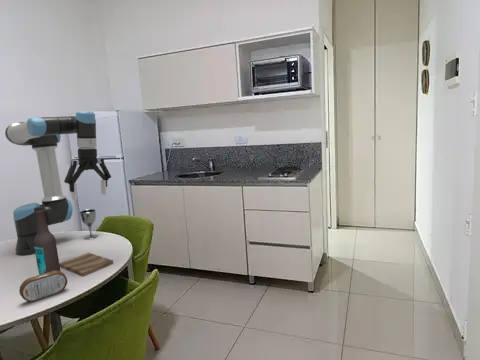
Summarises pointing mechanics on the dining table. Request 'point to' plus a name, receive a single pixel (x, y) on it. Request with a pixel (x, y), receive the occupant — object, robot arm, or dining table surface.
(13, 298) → the dining table surface
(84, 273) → the serving board
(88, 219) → the wine glass
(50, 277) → the tin
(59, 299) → the dining table surface
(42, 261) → the beer bottle
